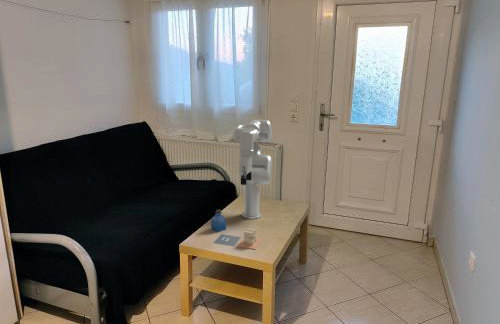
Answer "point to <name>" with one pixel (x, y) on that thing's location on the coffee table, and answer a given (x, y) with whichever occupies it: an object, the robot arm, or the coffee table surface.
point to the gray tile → (227, 240)
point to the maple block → (249, 236)
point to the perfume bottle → (218, 222)
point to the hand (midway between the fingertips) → (246, 182)
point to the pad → (249, 245)
